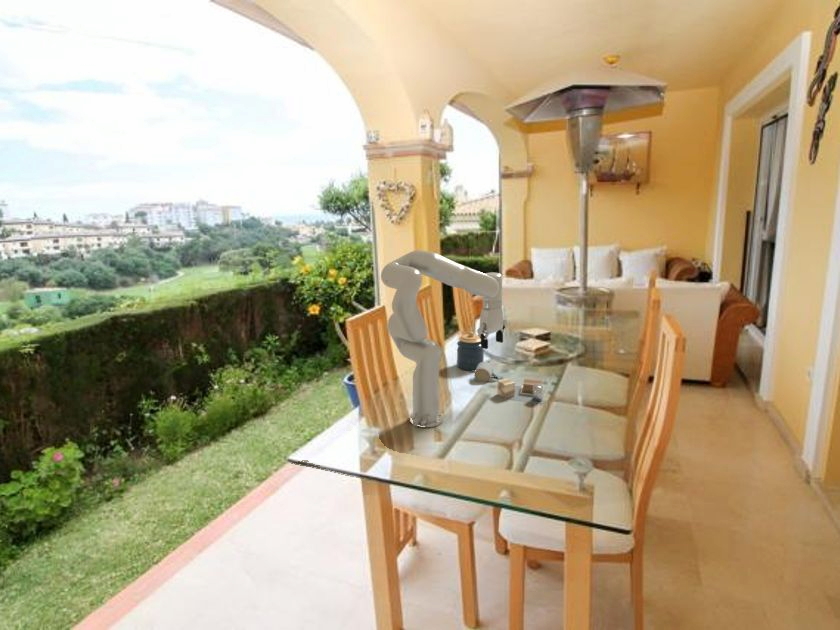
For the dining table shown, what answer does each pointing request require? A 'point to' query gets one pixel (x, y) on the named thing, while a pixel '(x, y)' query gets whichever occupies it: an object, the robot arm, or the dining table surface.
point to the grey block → (537, 393)
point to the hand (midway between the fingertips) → (491, 344)
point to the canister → (469, 352)
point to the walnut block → (530, 384)
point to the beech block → (506, 388)
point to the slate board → (521, 396)
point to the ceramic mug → (484, 372)
